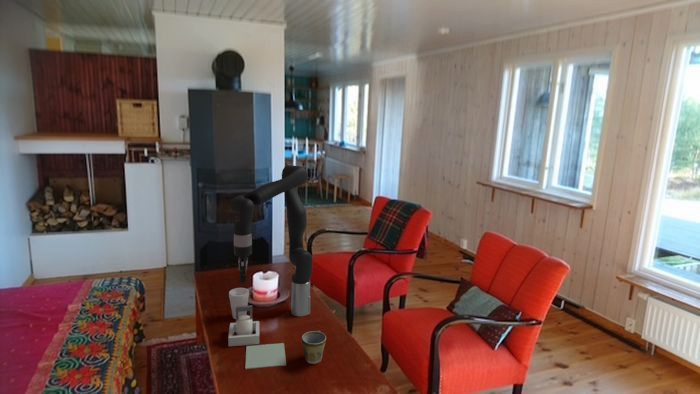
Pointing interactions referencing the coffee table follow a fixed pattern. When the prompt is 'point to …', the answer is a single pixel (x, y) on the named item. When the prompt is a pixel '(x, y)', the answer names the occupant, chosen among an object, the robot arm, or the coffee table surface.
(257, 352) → the mat
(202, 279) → the coffee table surface
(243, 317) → the egg with flat handle
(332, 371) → the coffee table surface
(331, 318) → the coffee table surface
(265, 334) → the coffee table surface
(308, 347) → the ceramic cup
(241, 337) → the frame
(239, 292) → the foam cup
